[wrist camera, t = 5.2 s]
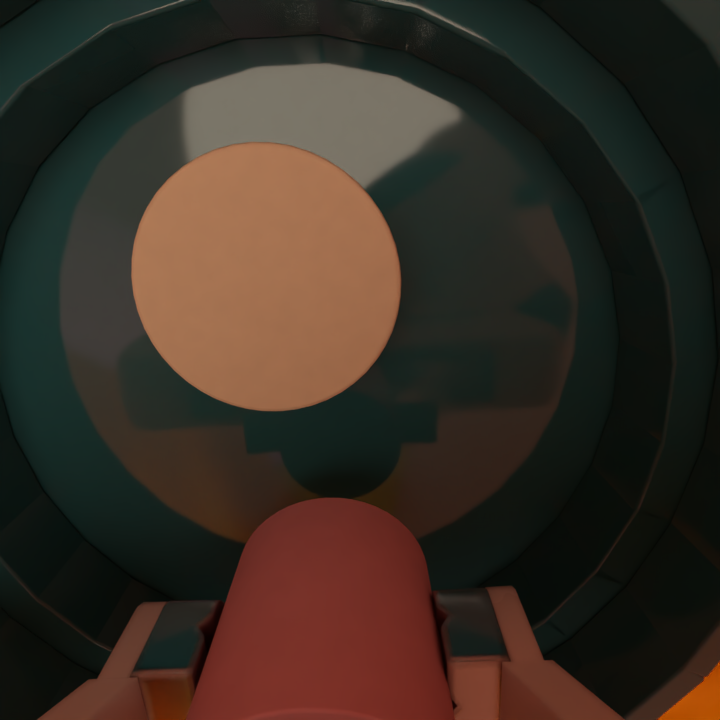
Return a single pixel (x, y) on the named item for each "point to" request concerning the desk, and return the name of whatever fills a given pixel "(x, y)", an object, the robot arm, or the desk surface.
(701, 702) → the desk surface
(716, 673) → the desk surface
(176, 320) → the cream marshmallow
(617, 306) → the bowl
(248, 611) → the pink marshmallow
